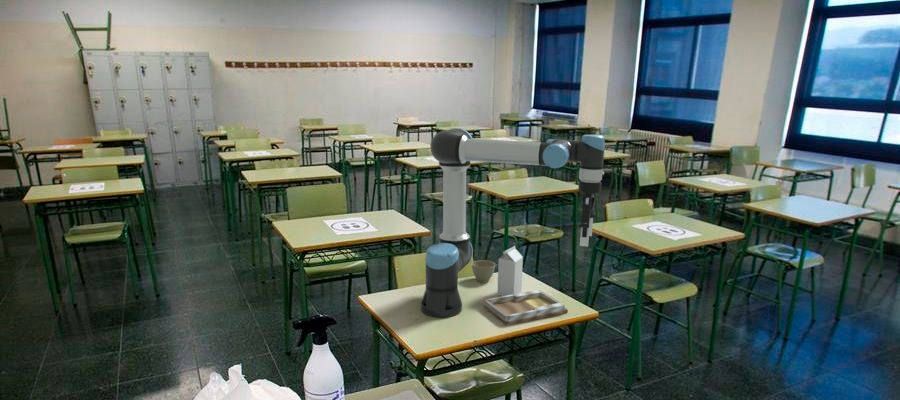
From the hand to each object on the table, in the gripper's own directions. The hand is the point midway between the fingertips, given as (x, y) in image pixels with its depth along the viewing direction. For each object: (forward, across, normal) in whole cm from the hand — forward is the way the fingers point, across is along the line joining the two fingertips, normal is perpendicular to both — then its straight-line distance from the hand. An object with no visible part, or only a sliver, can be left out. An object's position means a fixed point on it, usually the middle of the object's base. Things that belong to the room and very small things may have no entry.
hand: (585, 240), depth 181 cm
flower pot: (+28, +20, +42) cm, 55 cm away
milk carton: (+28, +9, +28) cm, 41 cm away
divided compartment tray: (+28, -4, +19) cm, 34 cm away
